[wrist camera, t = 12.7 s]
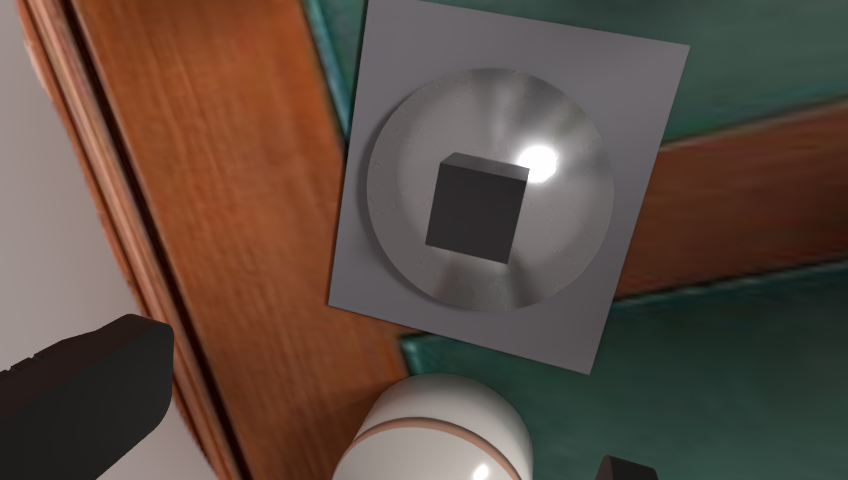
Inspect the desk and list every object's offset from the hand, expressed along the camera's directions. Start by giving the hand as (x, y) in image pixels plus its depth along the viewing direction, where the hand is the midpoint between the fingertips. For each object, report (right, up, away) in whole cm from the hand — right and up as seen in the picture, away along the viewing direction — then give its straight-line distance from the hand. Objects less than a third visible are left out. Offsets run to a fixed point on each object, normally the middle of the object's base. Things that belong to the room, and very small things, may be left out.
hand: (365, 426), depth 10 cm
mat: (+4, +6, +21) cm, 22 cm away
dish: (+2, -10, +26) cm, 28 cm away
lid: (+4, +6, +20) cm, 22 cm away
